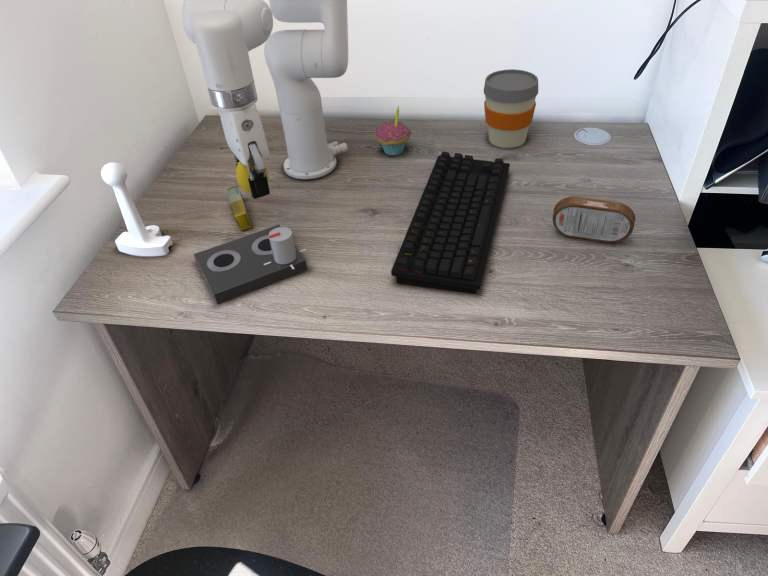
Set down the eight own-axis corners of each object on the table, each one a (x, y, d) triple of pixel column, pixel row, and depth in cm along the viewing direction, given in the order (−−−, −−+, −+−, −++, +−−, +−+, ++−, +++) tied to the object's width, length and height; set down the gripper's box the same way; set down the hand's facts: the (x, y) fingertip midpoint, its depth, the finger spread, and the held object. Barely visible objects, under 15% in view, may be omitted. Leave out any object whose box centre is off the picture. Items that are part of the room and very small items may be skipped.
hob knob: (291, 247, 120) (286, 222, 116) (300, 259, 117) (295, 234, 113) (270, 255, 119) (264, 230, 115) (278, 267, 116) (273, 242, 112)
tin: (630, 238, 119) (639, 202, 114) (629, 248, 117) (639, 211, 112) (551, 227, 124) (556, 191, 118) (549, 236, 121) (554, 200, 116)
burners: (277, 231, 124) (277, 231, 124) (289, 248, 120) (289, 247, 120) (203, 257, 119) (202, 257, 119) (212, 275, 115) (212, 275, 115)
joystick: (115, 253, 127) (76, 168, 113) (134, 231, 132) (99, 147, 119) (163, 258, 124) (130, 171, 111) (181, 236, 130) (151, 150, 116)
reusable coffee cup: (503, 122, 158) (507, 64, 149) (543, 137, 151) (550, 78, 141) (470, 140, 152) (472, 81, 143) (511, 157, 145) (516, 96, 135)
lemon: (266, 203, 111) (257, 164, 106) (237, 202, 112) (227, 162, 107) (275, 187, 115) (267, 148, 110) (247, 185, 116) (238, 147, 111)
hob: (287, 231, 128) (285, 221, 127) (316, 271, 118) (314, 260, 116) (196, 263, 122) (193, 253, 120) (219, 308, 112) (215, 297, 110)
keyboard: (480, 297, 110) (481, 276, 106) (391, 285, 113) (389, 264, 110) (509, 174, 140) (511, 154, 136) (438, 167, 144) (438, 148, 140)
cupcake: (416, 145, 152) (414, 99, 144) (402, 162, 147) (400, 115, 139) (384, 140, 155) (381, 94, 147) (370, 156, 150) (365, 110, 142)
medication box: (232, 203, 138) (226, 188, 135) (243, 199, 138) (238, 184, 136) (240, 231, 129) (234, 216, 126) (252, 227, 129) (246, 212, 127)
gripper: (273, 105, 96) (292, 203, 108) (237, 71, 108) (257, 162, 120) (227, 118, 94) (252, 217, 106) (195, 82, 105) (220, 174, 117)
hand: (254, 187), depth 113 cm, fingers closed on lemon, 5 cm apart
